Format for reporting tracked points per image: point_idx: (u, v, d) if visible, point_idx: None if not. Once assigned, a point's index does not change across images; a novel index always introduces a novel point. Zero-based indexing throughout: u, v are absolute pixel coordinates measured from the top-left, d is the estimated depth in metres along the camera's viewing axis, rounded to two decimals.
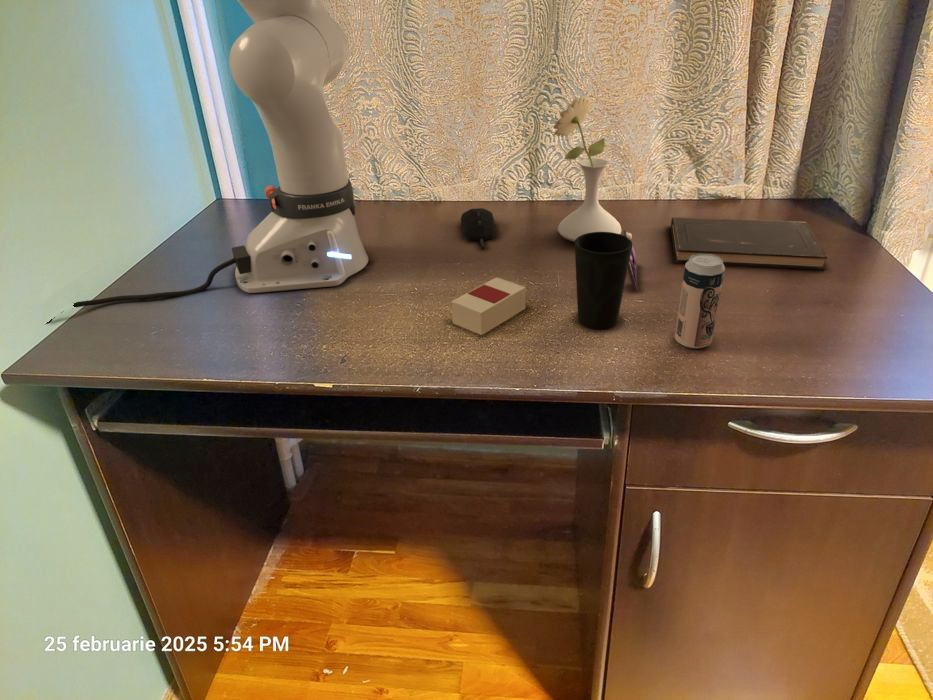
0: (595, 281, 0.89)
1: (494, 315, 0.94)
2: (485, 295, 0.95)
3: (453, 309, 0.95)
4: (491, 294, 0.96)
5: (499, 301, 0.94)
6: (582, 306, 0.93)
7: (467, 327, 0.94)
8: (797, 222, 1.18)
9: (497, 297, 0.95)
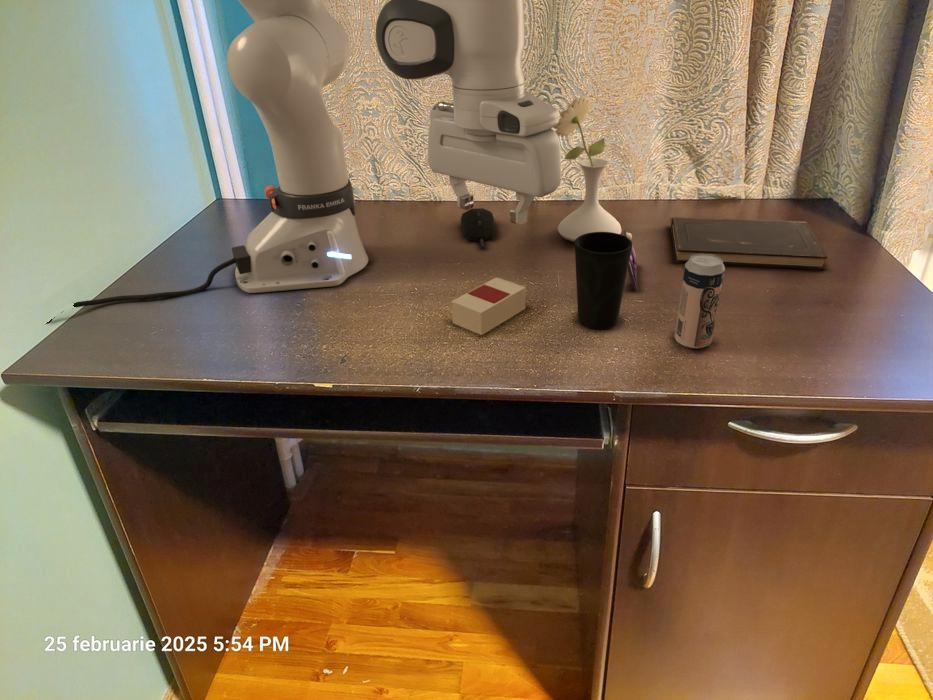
0: (595, 281, 0.89)
1: (494, 315, 0.94)
2: (485, 295, 0.95)
3: (453, 309, 0.95)
4: (491, 294, 0.96)
5: (499, 301, 0.94)
6: (582, 306, 0.93)
7: (467, 327, 0.94)
8: (797, 222, 1.18)
9: (497, 297, 0.95)
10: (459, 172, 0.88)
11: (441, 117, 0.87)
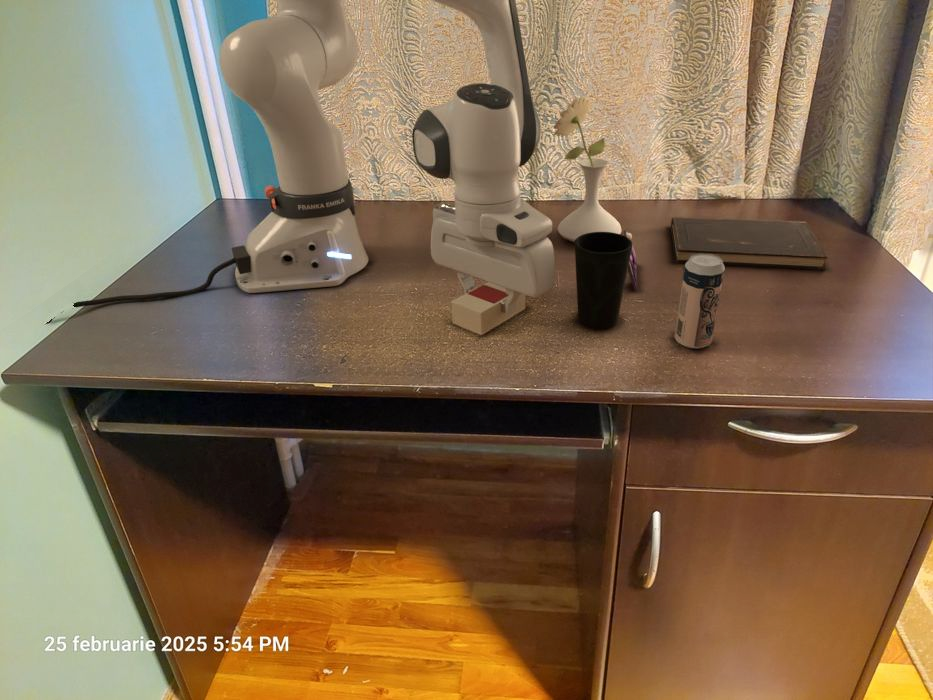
0: (595, 281, 0.89)
1: (494, 316, 0.94)
2: (485, 295, 0.95)
3: (453, 309, 0.95)
4: (491, 294, 0.96)
5: (499, 301, 0.94)
6: (582, 306, 0.93)
7: (467, 327, 0.94)
8: (797, 222, 1.18)
9: (497, 297, 0.95)
10: (460, 267, 0.95)
11: (443, 217, 0.94)
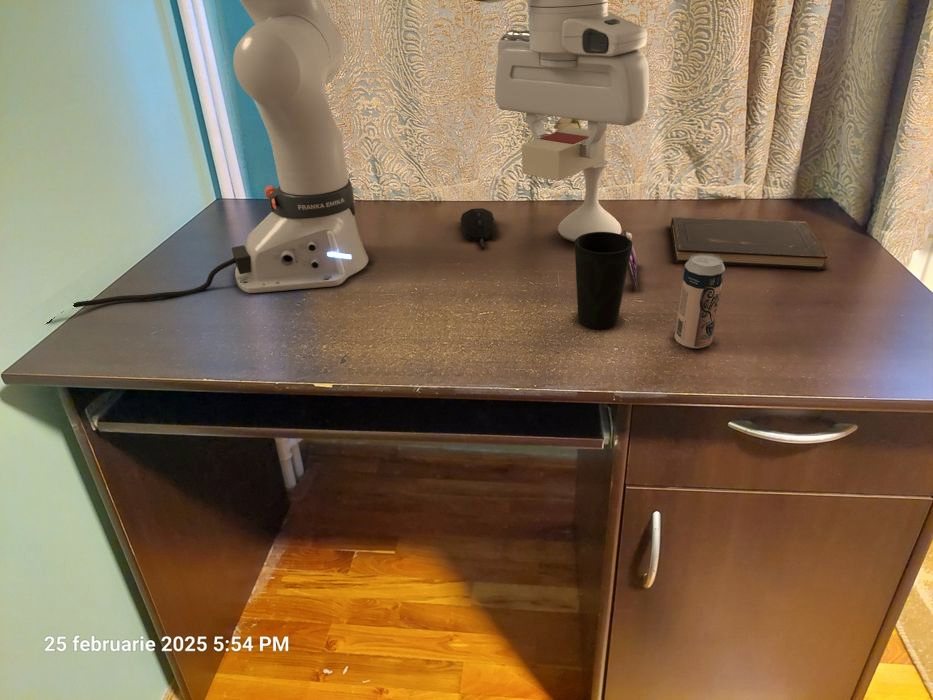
0: (595, 281, 0.89)
1: (573, 159, 0.80)
2: (560, 138, 0.82)
3: (524, 154, 0.81)
4: (567, 137, 0.82)
5: (578, 142, 0.80)
6: (582, 306, 0.93)
7: (541, 174, 0.81)
8: (797, 222, 1.18)
9: (575, 139, 0.81)
10: (531, 106, 0.82)
11: (512, 47, 0.81)
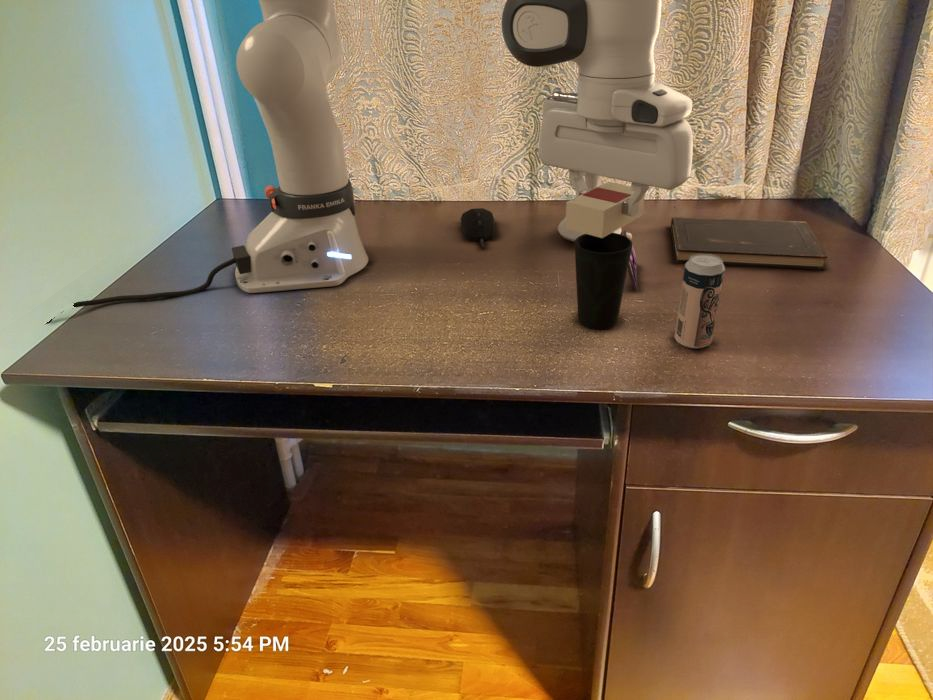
0: (595, 281, 0.89)
1: (615, 217, 0.84)
2: (603, 196, 0.85)
3: (568, 211, 0.85)
4: (609, 195, 0.85)
5: (621, 201, 0.84)
6: (582, 306, 0.93)
7: (584, 230, 0.84)
8: (797, 222, 1.18)
9: (617, 197, 0.84)
10: (575, 164, 0.85)
11: (557, 107, 0.84)
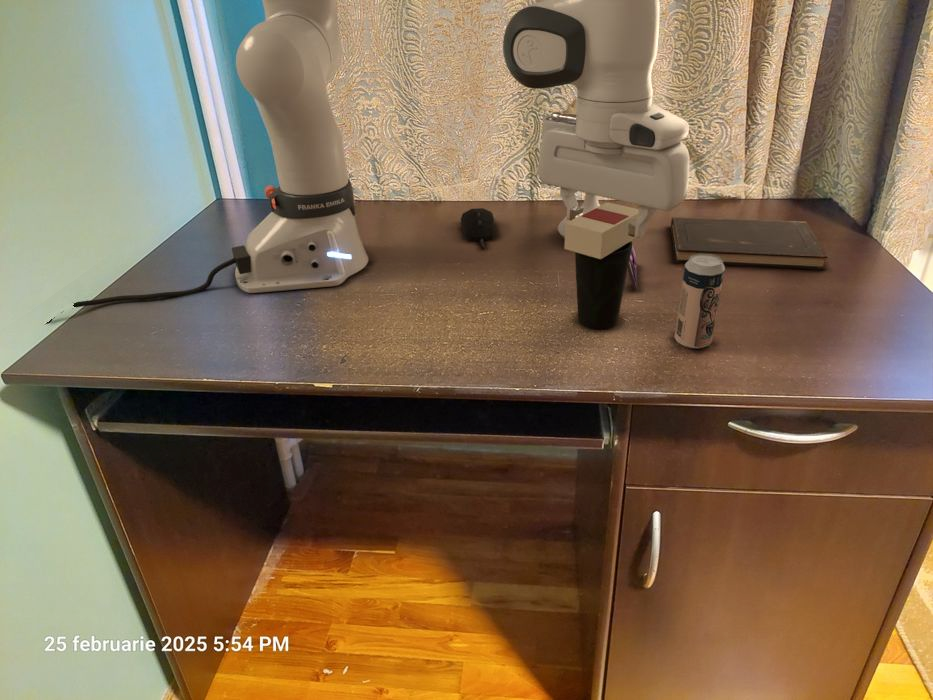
0: (595, 281, 0.89)
1: (614, 238, 0.85)
2: (601, 217, 0.87)
3: (567, 232, 0.86)
4: (607, 216, 0.87)
5: (619, 222, 0.85)
6: (582, 306, 0.93)
7: (583, 251, 0.86)
8: (797, 222, 1.18)
9: (616, 219, 0.86)
10: (574, 184, 0.86)
11: (557, 128, 0.86)
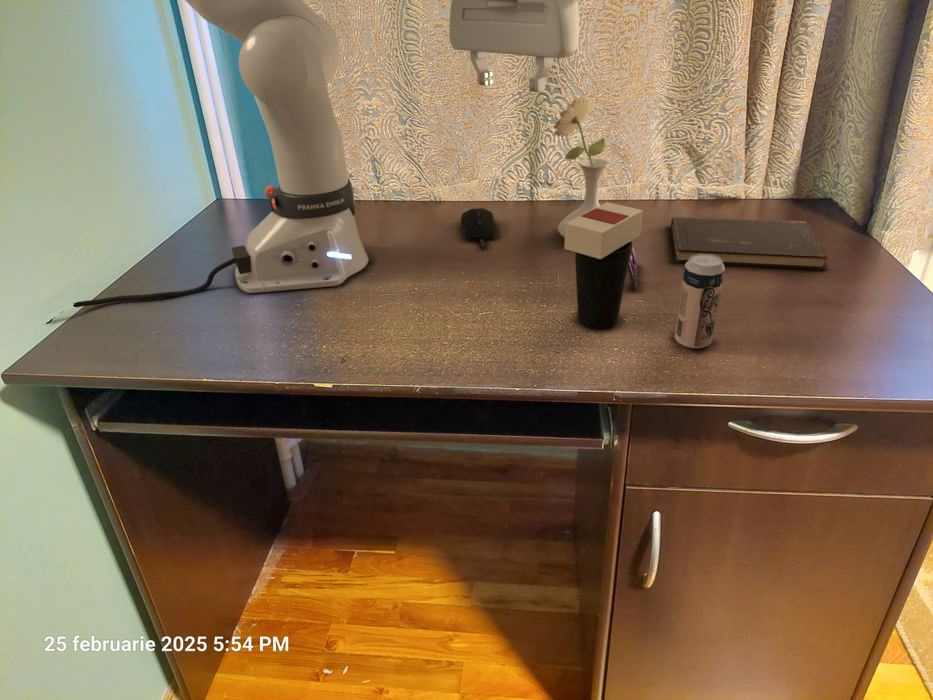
0: (595, 281, 0.89)
1: (613, 238, 0.85)
2: (601, 217, 0.87)
3: (567, 232, 0.86)
4: (607, 216, 0.87)
5: (619, 222, 0.85)
6: (582, 306, 0.93)
7: (583, 251, 0.86)
8: (797, 222, 1.18)
9: (616, 219, 0.86)
10: (480, 45, 0.92)
11: None
